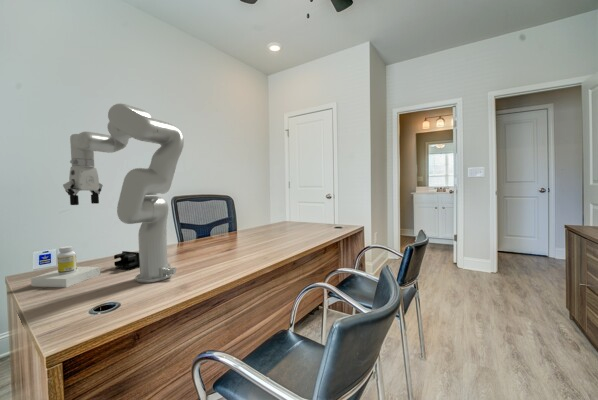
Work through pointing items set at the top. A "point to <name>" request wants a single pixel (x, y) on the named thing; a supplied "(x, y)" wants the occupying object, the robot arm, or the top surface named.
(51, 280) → the base plate
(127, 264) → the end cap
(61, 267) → the supplement bottle
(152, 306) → the top surface
